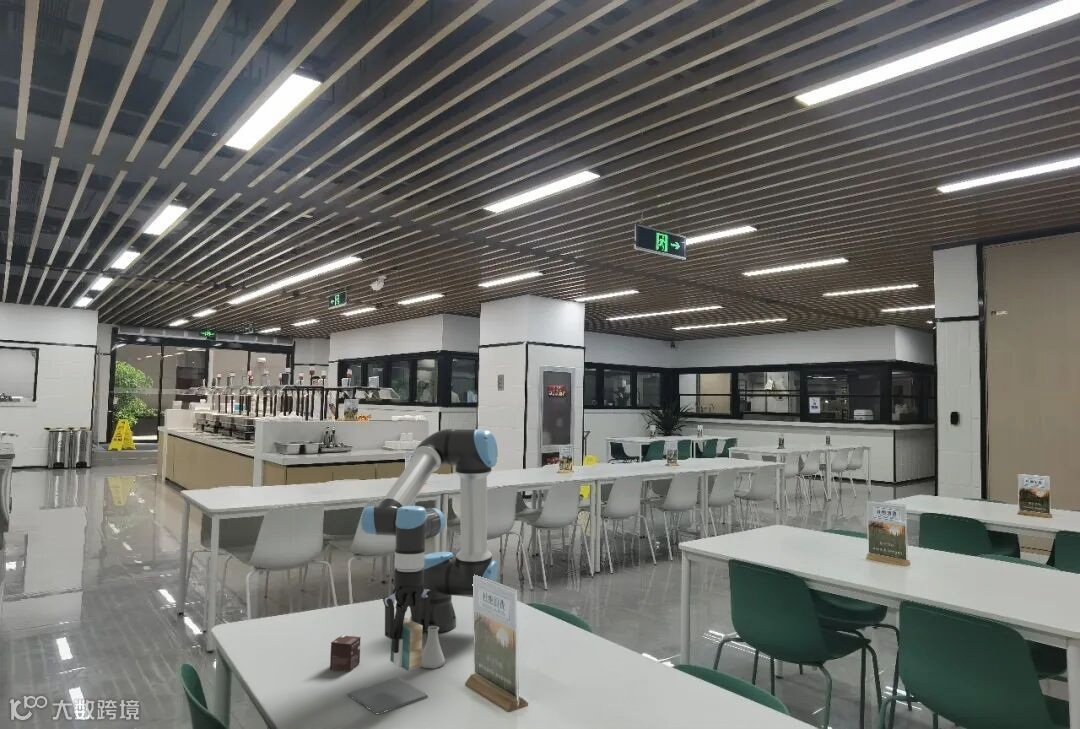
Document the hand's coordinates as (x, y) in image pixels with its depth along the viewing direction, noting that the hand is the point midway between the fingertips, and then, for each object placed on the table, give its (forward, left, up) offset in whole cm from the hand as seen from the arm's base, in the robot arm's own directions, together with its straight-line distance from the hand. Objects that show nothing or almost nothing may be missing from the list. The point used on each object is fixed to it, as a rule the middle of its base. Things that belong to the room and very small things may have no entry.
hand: (405, 662), depth 167 cm
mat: (+5, 0, -7) cm, 8 cm away
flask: (-15, -10, -7) cm, 20 cm away
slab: (0, 0, 0) cm, 0 cm away
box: (+4, -24, -7) cm, 25 cm away
